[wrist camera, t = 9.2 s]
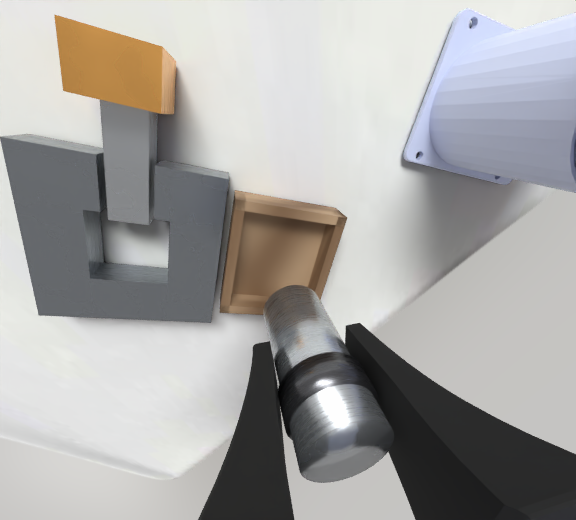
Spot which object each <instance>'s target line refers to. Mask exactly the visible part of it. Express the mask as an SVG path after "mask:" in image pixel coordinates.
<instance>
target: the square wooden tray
mask: <svg viewBox="0 0 576 520" xmlns="http://www.w3.org/2000/svg"><path fill="white" fill-rule="evenodd" d="M346 220H347V217H346V216H344V215H343V214H342V213H341V212H340V211H339V210H337V209H336V208H333V207H327V206H321V205H316V204H310V203H304V202H298V201H293V200H287V199H281V198H276V197H270V196H264V195H259V194H253V193H247V192H242V191H236V190H235V193H234V200H233V207H232V215H231V222H230V229H229V237H228V244H227V251H226V258H225V266H224V273H223V280H222V288H221V295H220V313H237V314H256V315H263V311H264V306H265V303H266V302H267V300H268V299H269V297H270V296H271V295H272V294H273V293H275V292H276V291H277V290H279V289H281V288H283V287H286V286H290V285H302V286H306V287H308V288H310V289H312V290H313V291H314V292H315V293H316V295H317V296H318V298H319V300H320V299H321V296H322V293H323V290H324V287H325V284H326V281H327V278H328V275H329V272H330V269H331V266H332V263H333V260H334V257H335V253H336V250H337V247H338V244H339V241H340V238H341V235H342V232H343V229H344V226H345V223H346Z"/></svg>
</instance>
